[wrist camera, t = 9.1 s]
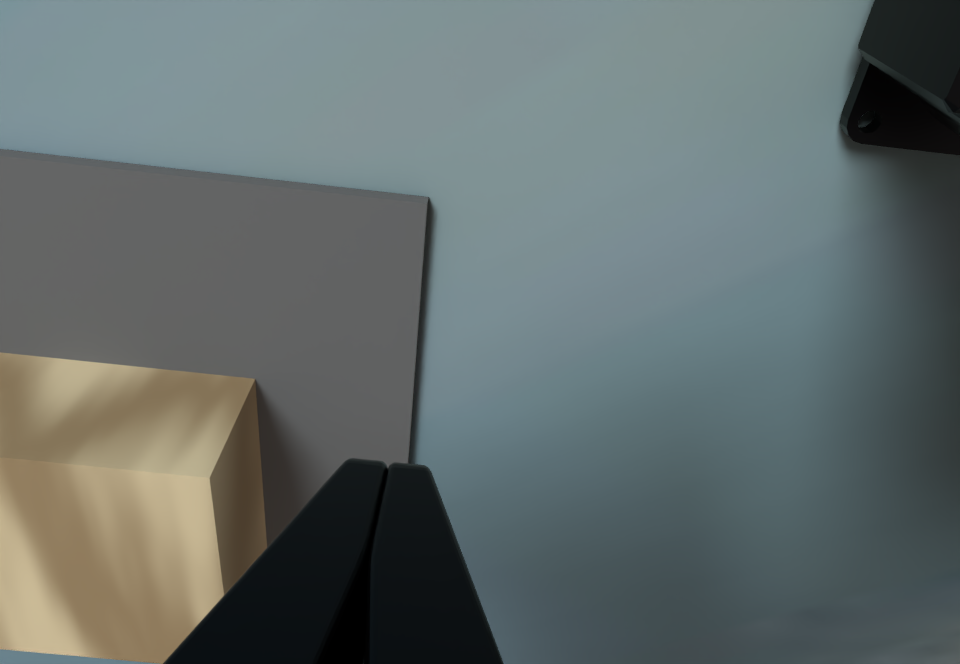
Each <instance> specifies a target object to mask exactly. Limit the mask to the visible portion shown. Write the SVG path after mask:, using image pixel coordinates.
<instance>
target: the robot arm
mask: <svg viewBox="0 0 960 664" xmlns="http://www.w3.org/2000/svg"><path fill="white" fill-rule="evenodd" d="M858 47H859V49H860V51H861V53H862V55H863V58H862V61H861V63H860V66H859V69H858V71H857V74H856V77H855V79H854V82H853V85H852V87H851V90H850V93H849V95H848V98H847V101H846V103H845V106H844V109H843V111H842V114H841V120H840V124H841V128H842V130H843V131H844V132H845V133H846V135H847V136H849V137H850V138H851V139H852V140H853V141H855V142H858V143H861V144H868V145H877V146H885V147H894V148H903V149H911V150H920V151H928V152H937V153H945V154H954V155H960V0H875V1H874V4H873V6H872V9H871V12H870V14H869V17H868V20H867V23H866V25H865V28H864V31H863V33H862V36H861V39H860V42H859V45H858ZM868 111H874V112H875V114H874V119H873V120H872V122H871V123H870V124H868V125H867V126H865V127H860V128H858V122H859V119H860V118H861V117H862V115H864V114H865V113H867V112H868ZM163 664H504V663H503V661H502V658H501V655H500V653H499V650H498V647H497V645H496V642H495V639H494V637H493V634H492V631H491V629H490V626H489V624H488V621H487V618H486V616H485V613H484V610H483V608H482V605H481V602H480V600H479V597H478V594H477V592H476V589H475V586H474V584H473V581H472V578H471V576H470V573H469V571H468V568H467V565H466V563H465V560H464V557H463V555H462V552H461V549H460V547H459V544H458V541H457V539H456V536H455V533H454V531H453V528H452V525H451V523H450V520H449V517H448V515H447V512H446V510H445V507H444V504H443V502H442V499H441V496H440V494H439V491H438V488H437V486H436V483H435V480H434V478H433V475H432V473H431V471H430V469H429V468H428V467H427V466H425V465H418V464H408V463H398V462H394V463H392V464H390V466H389V467H387V465H386V463H384V462H383V461H378V460H368V459H358V458H350V459H348V460H346V461H345V462H344V463H343V464H342V465H341V466H340V467H339V468H338V469H337V470H336V471H335V472H334V474H333V475H332V476H331V477H330V478H329V479H328V480H327V481H326V482H325V484H324V485H323V486H322V487H321V488H320V489H319V490H318V491H317V492H316V494H315V495H314V496H313V497H312V498H311V499H310V500H309V501H308V502H307V504H306V505H305V506H304V507H303V508H302V509H301V510H300V511H299V512H298V514H297V515H296V516H295V517H294V518H293V519H292V520H291V521H290V522H289V524H288V525H287V526H286V527H285V528H284V529H283V530H282V531H281V532H280V534H279V535H278V536H277V537H276V538H275V539H274V540H273V541H272V543H271V544H270V545H269V546H268V547H267V548H266V549H265V550H264V551H263V553H262V554H261V555H260V556H259V557H258V558H257V559H256V560H255V561H254V563H253V564H252V565H251V566H250V567H249V568H248V569H247V570H246V571H245V573H244V574H243V575H242V576H241V577H240V578H239V579H238V580H237V581H236V583H235V584H234V585H233V586H232V587H231V588H230V589H229V590H228V591H227V593H226V594H225V595H224V596H223V597H222V598H221V599H220V600H219V601H218V603H217V604H216V605H215V606H214V607H213V608H212V609H211V610H210V612H209V613H208V614H207V615H206V616H205V617H204V618H203V619H202V620H201V622H200V623H199V624H198V625H197V626H196V627H195V628H194V629H193V630H192V632H191V633H190V634H189V635H188V636H187V637H186V638H185V639H184V640H183V642H182V643H181V644H180V645H179V646H178V647H177V648H176V649H175V650H174V652H173V653H172V654H171V655H170V656H169V657H168V658H167V659H166V660H165V662H164V663H163Z"/></svg>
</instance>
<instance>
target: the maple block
mask: <svg viewBox="0 0 960 664" xmlns="http://www.w3.org/2000/svg"><path fill="white" fill-rule="evenodd" d="M266 548H267V539H266V525H265V511H264V497H263V483H262V468H261V454H260V440H259V426H258V412H257V398H256V383H255V379H252V378H243V377H233V376H223V375H214V374H204V373H194V372H185V371H175V370H165V369H156V368H146V367H136V366H126V365H117V364H107V363H97V362H88V361H78V360H68V359H59V358H49V357H39V356H30V355H20V354H10V353H0V649H5V650H16V651H27V652H38V653H50V654H61V655H72V656H83V657H94V658H105V659H116V660H127V661H138V662H150V663H161V664H163V663H164V662H165V660H166V659H167V658H168V657H169V656H170V655H171V654H172V653H173V652H174V650H175V649H176V648H177V647H178V646H179V645H180V644H181V643H182V642H183V640H184V639H185V638H186V637H187V636H188V635H189V634H190V633H191V632H192V630H193V629H194V628H195V627H196V626H197V625H198V624H199V623H200V622H201V620H202V619H203V618H204V617H205V616H206V615H207V614H208V613H209V612H210V610H211V609H212V608H213V607H214V606H215V605H216V604H217V603H218V601H219V600H220V599H221V598H222V597H223V596H224V595H225V594H226V593H227V591H228V590H229V589H230V588H231V587H232V586H233V585H234V584H235V583H236V581H237V580H238V579H239V578H240V577H241V576H242V575H243V574H244V573H245V571H246V570H247V569H248V568H249V567H250V566H251V565H252V564H253V563H254V561H255V560H256V559H257V558H258V557H259V556H260V555H261V554H262V553H263V551H264V550H265V549H266Z"/></svg>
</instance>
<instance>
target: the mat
mask: <svg viewBox="0 0 960 664" xmlns="http://www.w3.org/2000/svg"><path fill="white" fill-rule="evenodd" d="M428 198H429V197H423V196H414V195H405V194H396V193H387V192H378V191H369V190H361V189H352V188H343V187H334V186H325V185H316V184H307V183H298V182H289V181H280V180H271V179H263V178H254V177H245V176H236V175H227V174H218V173H209V172H200V171H191V170H182V169H173V168H164V167H156V166H147V165H138V164H129V163H120V162H111V161H102V160H93V159H84V158H75V157H66V156H57V155H49V154H40V153H31V152H22V151H13V150H4V149H0V353H10V354H20V355H30V356H39V357H49V358H59V359H68V360H78V361H88V362H97V363H107V364H117V365H126V366H136V367H146V368H156V369H165V370H175V371H185V372H194V373H204V374H214V375H223V376H233V377H243V378H252V379H255V383H256V398H257V412H258V426H259V440H260V454H261V468H262V483H263V497H264V511H265V525H266V539H267V547H268V546H269V545H270V544H271V543H272V541H273V540H274V539H275V538H276V537H277V536H278V535H279V534H280V532H281V531H282V530H283V529H284V528H285V527H286V526H287V525H288V524H289V522H290V521H291V520H292V519H293V518H294V517H295V516H296V515H297V514H298V512H299V511H300V510H301V509H302V508H303V507H304V506H305V505H306V504H307V502H308V501H309V500H310V499H311V498H312V497H313V496H314V495H315V494H316V492H317V491H318V490H319V489H320V488H321V487H322V486H323V485H324V484H325V482H326V481H327V480H328V479H329V478H330V477H331V476H332V475H333V474H334V472H335V471H336V470H337V469H338V468H339V467H340V466H341V465H342V464H343V463H344V462H345V461H346V460H348V459H350V458H358V459H368V460H378V461H383V462H384V463H386V465H387V467H389V466H390V464H392V463H394V462H398V463H408V464H409V450H410V437H411V424H412V410H413V397H414V384H415V371H416V357H417V344H418V331H419V317H420V304H421V291H422V277H423V264H424V251H425V238H426V224H427V211H428Z"/></svg>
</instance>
